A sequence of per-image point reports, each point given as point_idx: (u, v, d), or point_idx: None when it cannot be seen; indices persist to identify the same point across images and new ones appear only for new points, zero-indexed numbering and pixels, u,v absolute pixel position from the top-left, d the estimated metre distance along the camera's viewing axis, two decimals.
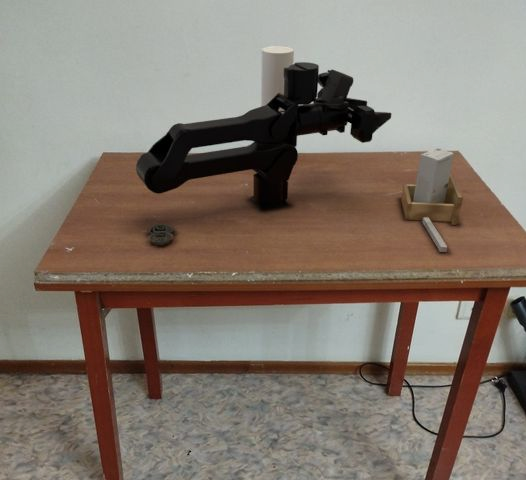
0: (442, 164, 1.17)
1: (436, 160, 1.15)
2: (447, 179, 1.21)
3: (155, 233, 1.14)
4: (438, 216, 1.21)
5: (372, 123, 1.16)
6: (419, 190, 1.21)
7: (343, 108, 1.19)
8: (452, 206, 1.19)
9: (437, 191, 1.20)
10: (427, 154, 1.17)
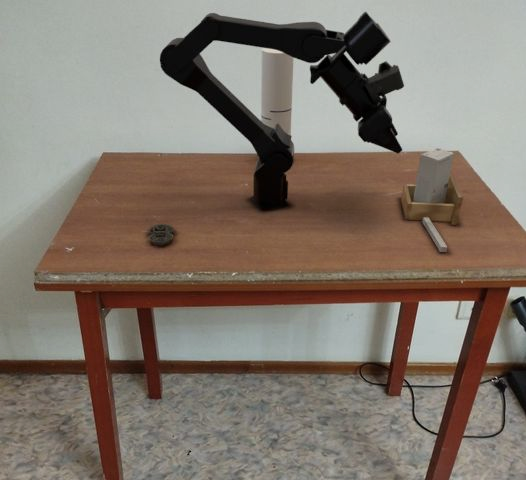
0: (442, 164, 1.17)
1: (436, 160, 1.15)
2: (447, 179, 1.21)
3: (155, 233, 1.14)
4: (438, 216, 1.21)
5: (380, 127, 1.07)
6: (419, 190, 1.21)
7: (373, 99, 1.10)
8: (452, 206, 1.19)
9: (437, 191, 1.20)
10: (427, 154, 1.17)
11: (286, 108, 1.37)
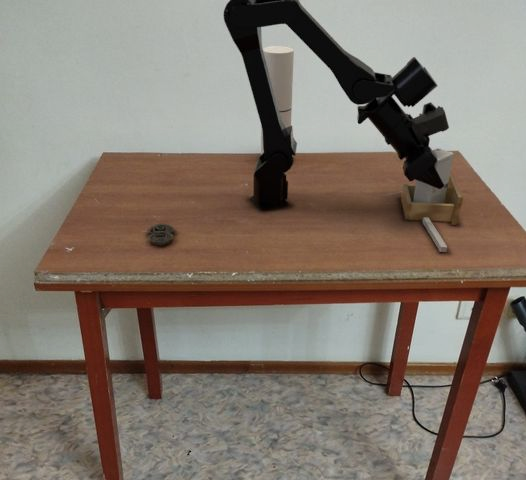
0: (442, 164, 1.17)
1: None
2: (447, 179, 1.21)
3: (155, 233, 1.14)
4: (438, 216, 1.21)
5: (426, 168, 1.10)
6: (419, 190, 1.21)
7: (419, 139, 1.13)
8: (452, 206, 1.19)
9: (437, 191, 1.20)
10: None
11: (286, 108, 1.37)
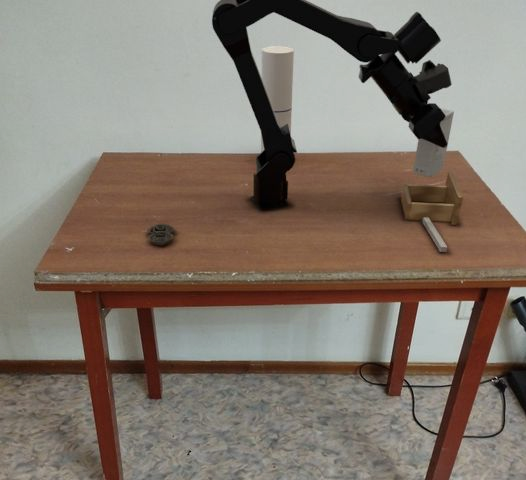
0: (445, 122, 1.17)
1: None
2: (448, 139, 1.21)
3: (155, 233, 1.14)
4: (438, 216, 1.21)
5: (434, 124, 1.09)
6: (421, 150, 1.20)
7: (423, 97, 1.12)
8: (452, 206, 1.19)
9: (439, 150, 1.20)
10: None
11: (286, 108, 1.37)
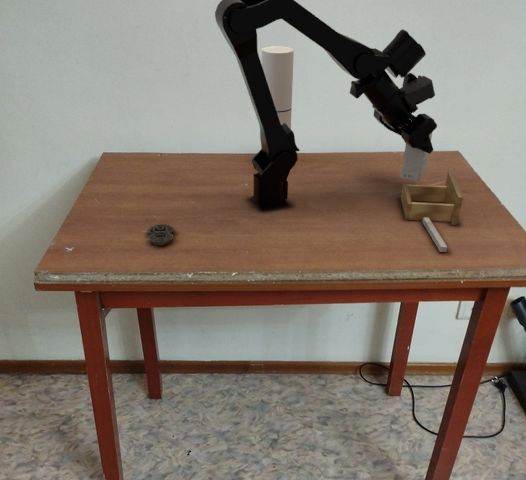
0: None
1: None
2: None
3: (155, 233, 1.14)
4: (438, 216, 1.21)
5: (428, 133, 1.17)
6: (409, 157, 1.27)
7: (411, 108, 1.20)
8: (452, 206, 1.19)
9: (425, 156, 1.28)
10: None
11: (286, 108, 1.37)
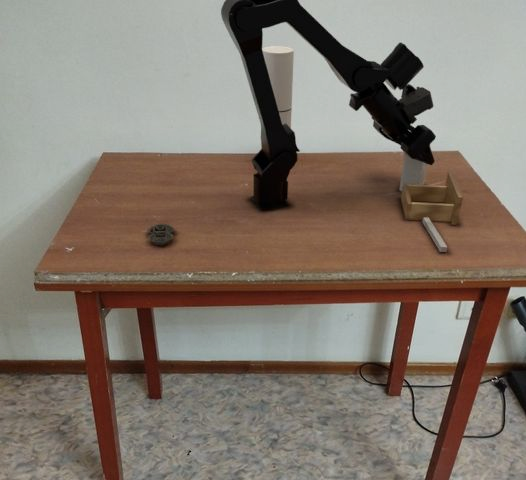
0: None
1: None
2: None
3: (155, 233, 1.14)
4: (438, 216, 1.21)
5: (427, 145, 1.18)
6: (407, 170, 1.29)
7: (410, 119, 1.21)
8: (452, 206, 1.19)
9: (423, 168, 1.30)
10: None
11: (286, 108, 1.37)
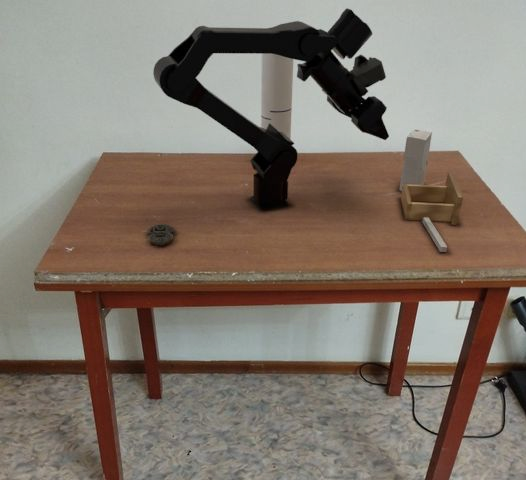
0: (427, 143, 1.27)
1: (424, 140, 1.24)
2: (427, 157, 1.31)
3: (155, 233, 1.14)
4: (438, 216, 1.21)
5: (377, 117, 1.13)
6: (407, 170, 1.29)
7: (361, 91, 1.16)
8: (452, 206, 1.19)
9: (423, 168, 1.30)
10: (413, 136, 1.26)
11: (286, 108, 1.37)
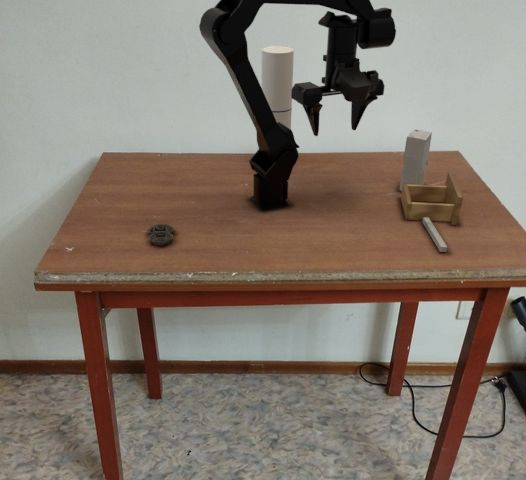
0: (427, 143, 1.27)
1: (424, 140, 1.24)
2: (427, 157, 1.31)
3: (155, 233, 1.14)
4: (438, 216, 1.21)
5: (298, 100, 1.16)
6: (407, 170, 1.29)
7: (332, 83, 1.15)
8: (452, 206, 1.19)
9: (423, 168, 1.30)
10: (413, 136, 1.26)
11: (286, 108, 1.37)
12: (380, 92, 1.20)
